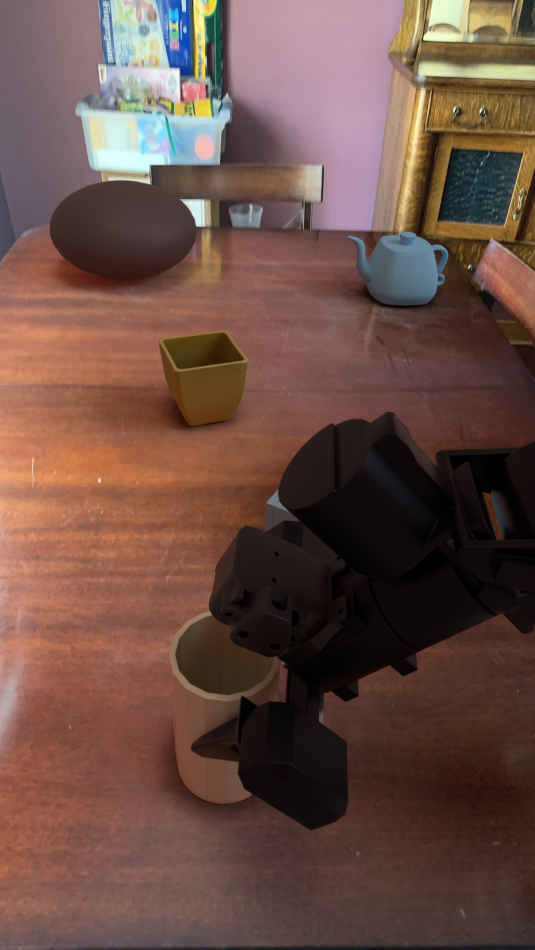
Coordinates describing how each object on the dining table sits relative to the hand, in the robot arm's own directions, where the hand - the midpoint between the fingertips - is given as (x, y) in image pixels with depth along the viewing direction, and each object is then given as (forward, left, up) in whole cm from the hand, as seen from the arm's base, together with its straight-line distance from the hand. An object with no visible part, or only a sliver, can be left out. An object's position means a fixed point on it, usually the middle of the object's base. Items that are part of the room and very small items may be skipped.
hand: (204, 700), depth 45 cm
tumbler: (-1, -1, -7) cm, 7 cm away
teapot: (+18, -89, -7) cm, 91 cm away
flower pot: (+25, -39, -7) cm, 46 cm away
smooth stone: (+62, -72, -7) cm, 95 cm away
